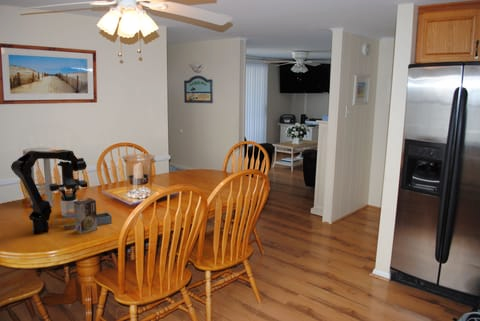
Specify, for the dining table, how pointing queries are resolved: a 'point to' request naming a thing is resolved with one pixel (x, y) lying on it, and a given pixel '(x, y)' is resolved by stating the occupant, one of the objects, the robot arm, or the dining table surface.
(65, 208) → the jar
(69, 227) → the catapult base
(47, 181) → the stool
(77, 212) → the coffee box
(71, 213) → the ball
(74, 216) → the lever
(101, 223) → the grey open box
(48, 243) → the dining table surface
